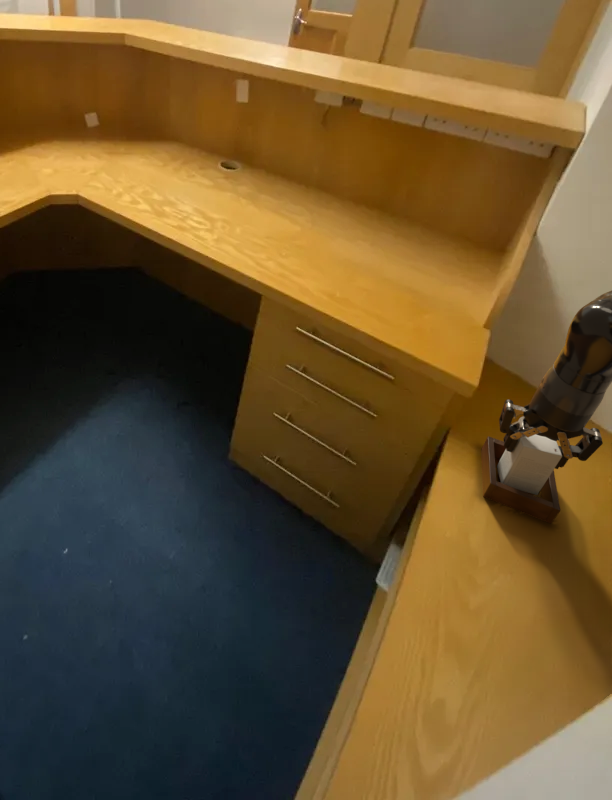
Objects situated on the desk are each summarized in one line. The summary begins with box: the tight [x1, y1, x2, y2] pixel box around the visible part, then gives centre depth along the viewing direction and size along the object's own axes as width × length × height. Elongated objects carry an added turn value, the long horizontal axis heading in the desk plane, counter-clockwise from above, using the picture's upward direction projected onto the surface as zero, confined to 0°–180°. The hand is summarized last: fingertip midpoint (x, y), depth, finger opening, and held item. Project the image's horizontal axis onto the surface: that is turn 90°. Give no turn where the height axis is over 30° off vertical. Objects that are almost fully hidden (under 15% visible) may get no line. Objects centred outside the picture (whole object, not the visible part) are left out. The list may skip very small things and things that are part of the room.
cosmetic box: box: [496, 434, 562, 496], centre depth 92 cm, size 6×4×12 cm
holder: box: [480, 435, 561, 524], centre depth 95 cm, size 11×11×6 cm
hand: (530, 455), depth 91 cm, fingers closed on cosmetic box, 6 cm apart
